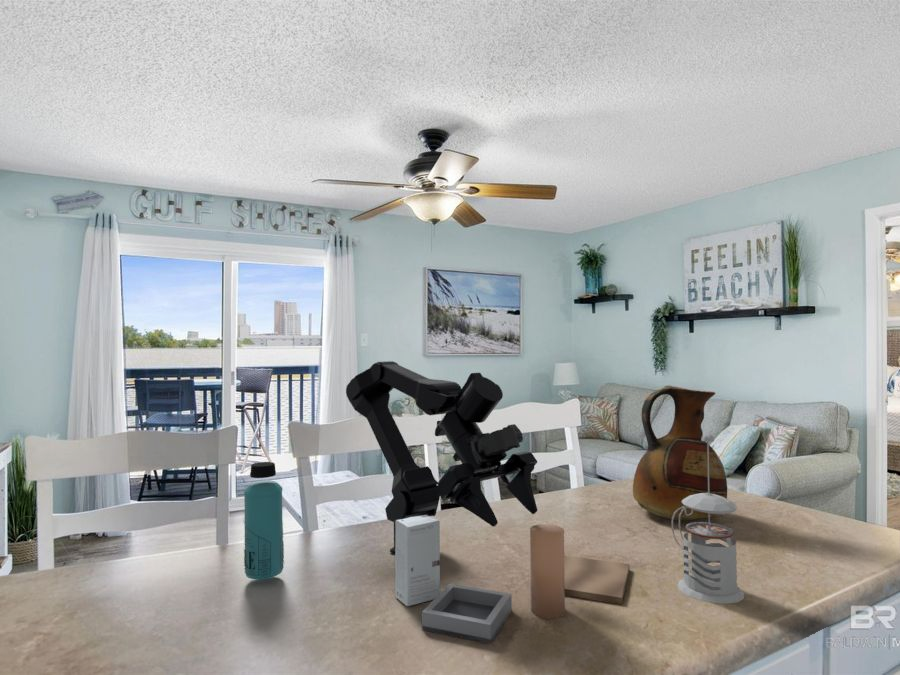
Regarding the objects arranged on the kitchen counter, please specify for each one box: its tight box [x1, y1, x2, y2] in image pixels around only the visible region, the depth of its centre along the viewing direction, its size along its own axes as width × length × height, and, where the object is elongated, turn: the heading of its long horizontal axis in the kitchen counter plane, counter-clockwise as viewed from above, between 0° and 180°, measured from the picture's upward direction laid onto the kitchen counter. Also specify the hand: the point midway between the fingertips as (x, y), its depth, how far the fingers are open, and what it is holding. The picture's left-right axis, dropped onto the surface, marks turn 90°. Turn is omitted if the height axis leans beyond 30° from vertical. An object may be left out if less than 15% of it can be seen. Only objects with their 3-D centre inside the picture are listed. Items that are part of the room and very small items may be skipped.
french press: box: [671, 433, 745, 605], centre depth 90 cm, size 10×12×25 cm
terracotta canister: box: [529, 523, 566, 620], centre depth 83 cm, size 5×5×12 cm
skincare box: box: [394, 515, 441, 607], centre depth 88 cm, size 6×4×12 cm
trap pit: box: [421, 583, 513, 645], centre depth 80 cm, size 10×10×2 cm
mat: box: [564, 554, 630, 605], centre depth 94 cm, size 14×14×1 cm
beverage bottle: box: [242, 461, 285, 580], centre depth 95 cm, size 6×7×20 cm
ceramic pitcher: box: [632, 384, 728, 521], centre depth 129 cm, size 20×20×30 cm
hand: (516, 518), depth 88 cm, fingers open, 9 cm apart
